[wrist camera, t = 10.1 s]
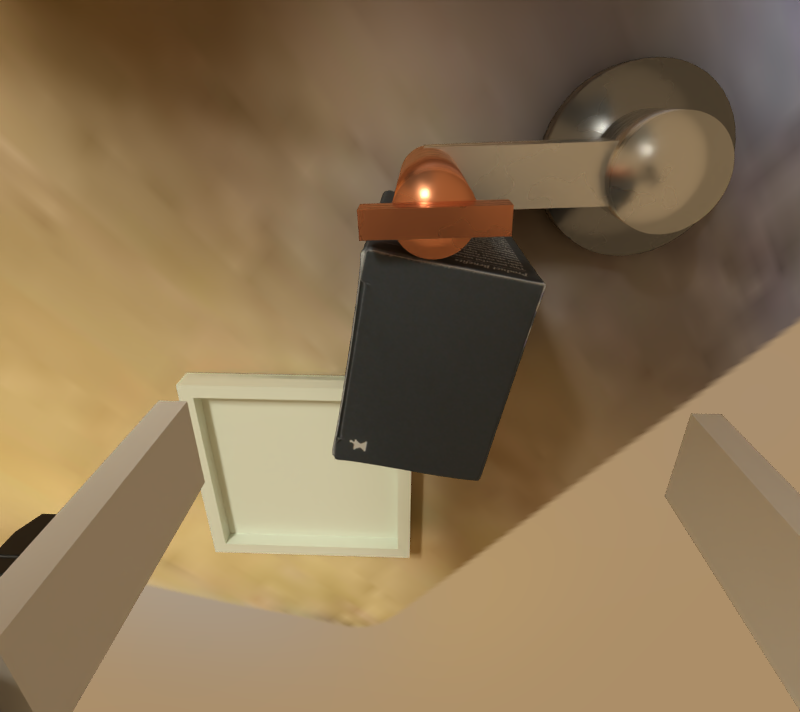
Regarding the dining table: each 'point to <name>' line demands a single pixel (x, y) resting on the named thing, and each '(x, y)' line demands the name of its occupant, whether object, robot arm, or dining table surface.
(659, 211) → the crank
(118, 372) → the dining table surface
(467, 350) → the box
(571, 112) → the crank base
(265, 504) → the tray
